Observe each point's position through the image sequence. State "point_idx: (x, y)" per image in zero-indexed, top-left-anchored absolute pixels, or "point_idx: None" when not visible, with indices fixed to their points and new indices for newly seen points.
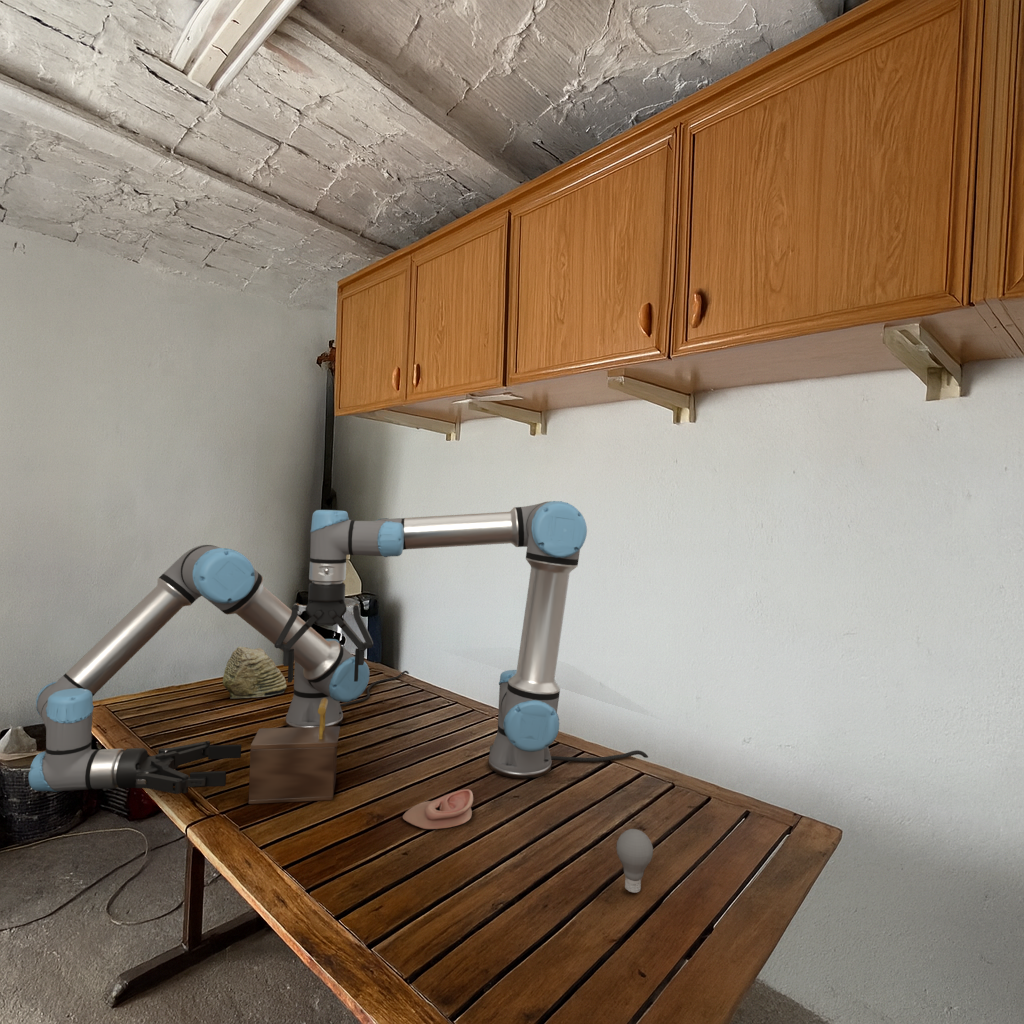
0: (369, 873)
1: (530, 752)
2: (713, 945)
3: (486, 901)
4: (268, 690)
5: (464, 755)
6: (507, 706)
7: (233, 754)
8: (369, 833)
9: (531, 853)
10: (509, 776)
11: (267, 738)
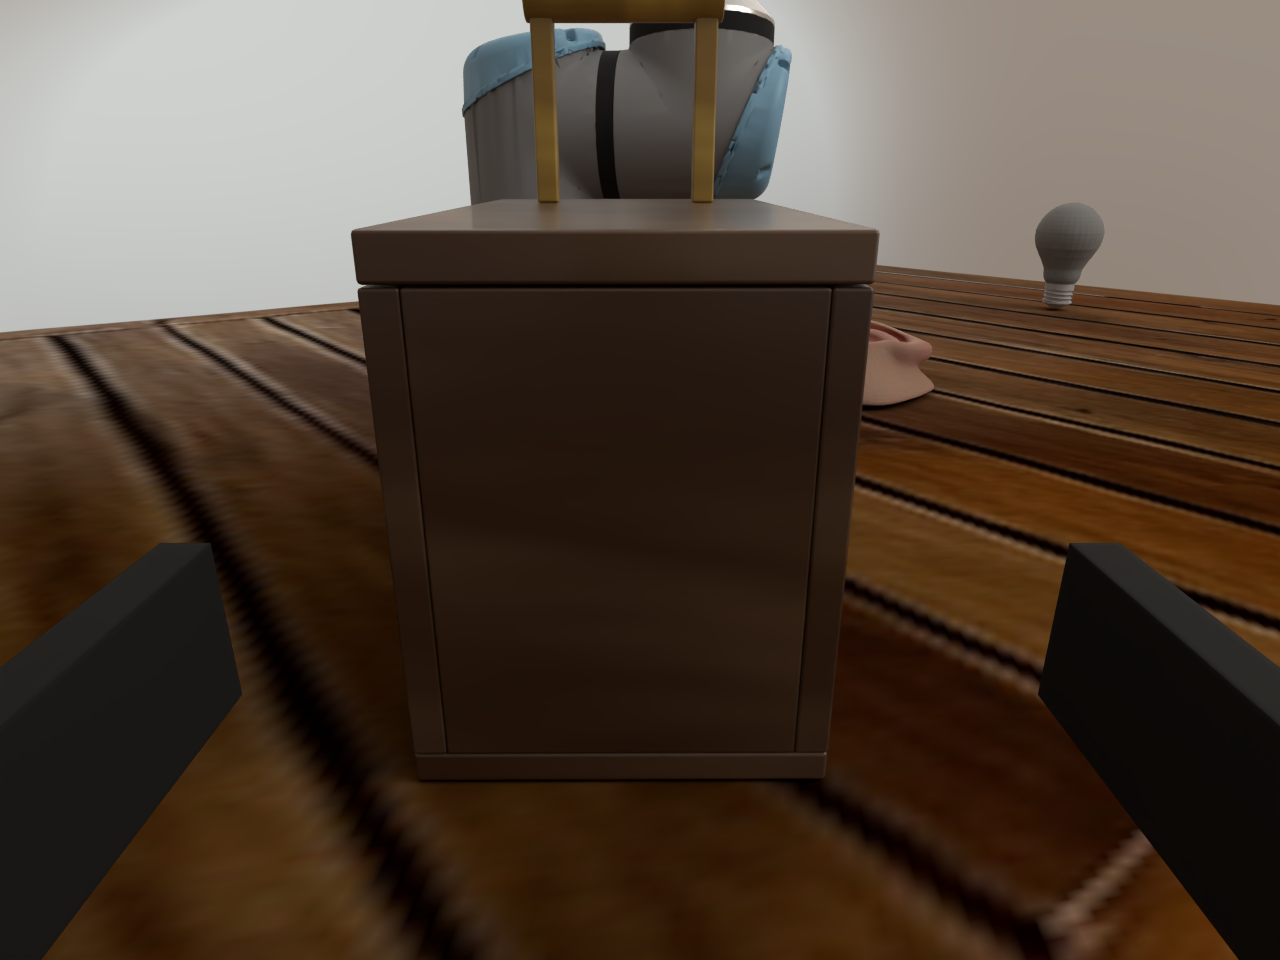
0: (1247, 444)
1: None
2: (1150, 299)
3: (1206, 363)
4: None
5: None
6: (724, 77)
7: (183, 705)
8: (998, 445)
9: (979, 336)
10: None
11: (686, 220)
